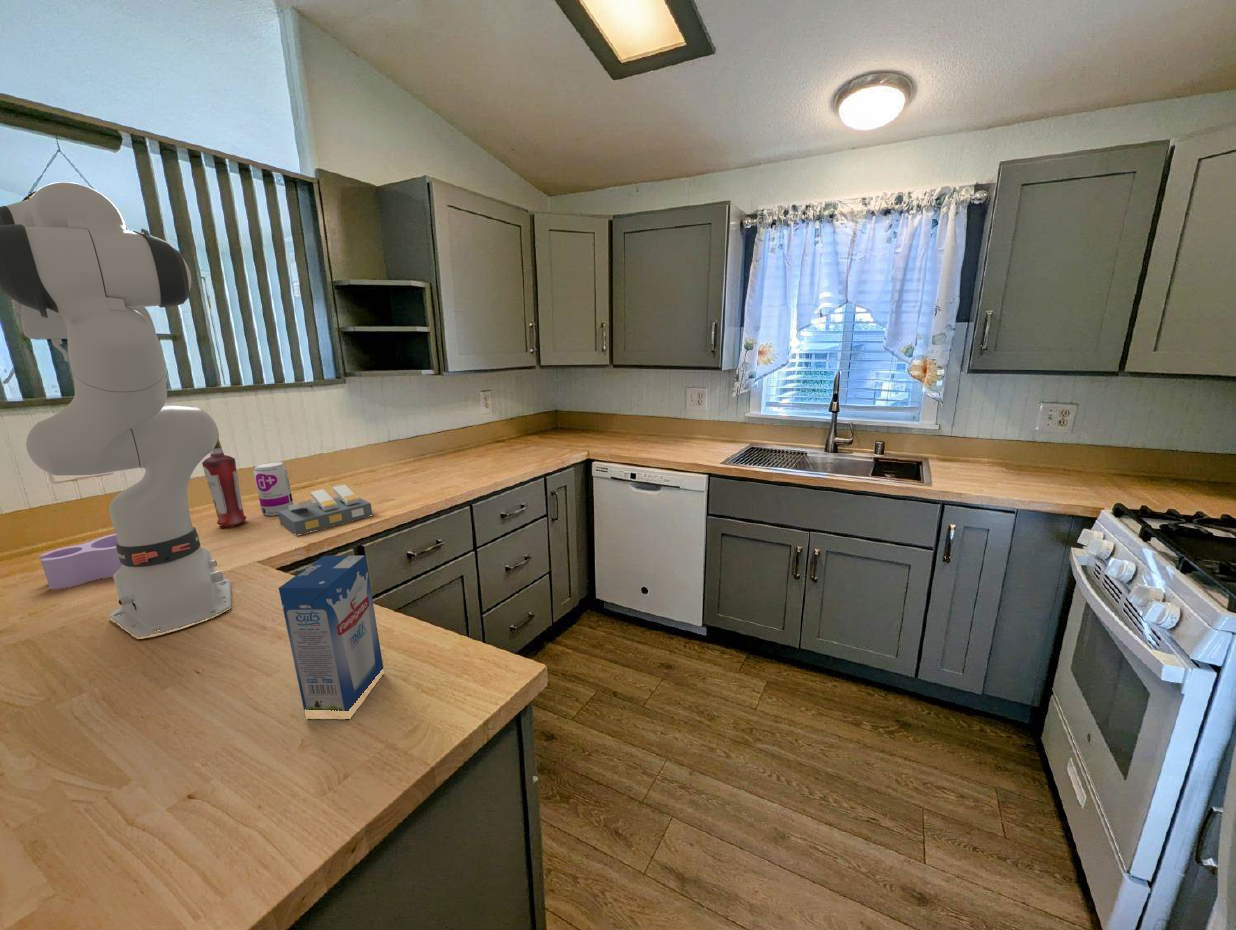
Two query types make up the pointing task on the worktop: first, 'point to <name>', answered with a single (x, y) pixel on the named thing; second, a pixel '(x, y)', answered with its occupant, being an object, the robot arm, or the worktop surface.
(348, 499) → the rocker
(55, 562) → the lavender double cup holder
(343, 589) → the milk carton
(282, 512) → the switch housing
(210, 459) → the liquor
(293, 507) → the rocker
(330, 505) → the rocker
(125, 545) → the robot arm
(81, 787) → the worktop surface
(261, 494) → the supplement can
